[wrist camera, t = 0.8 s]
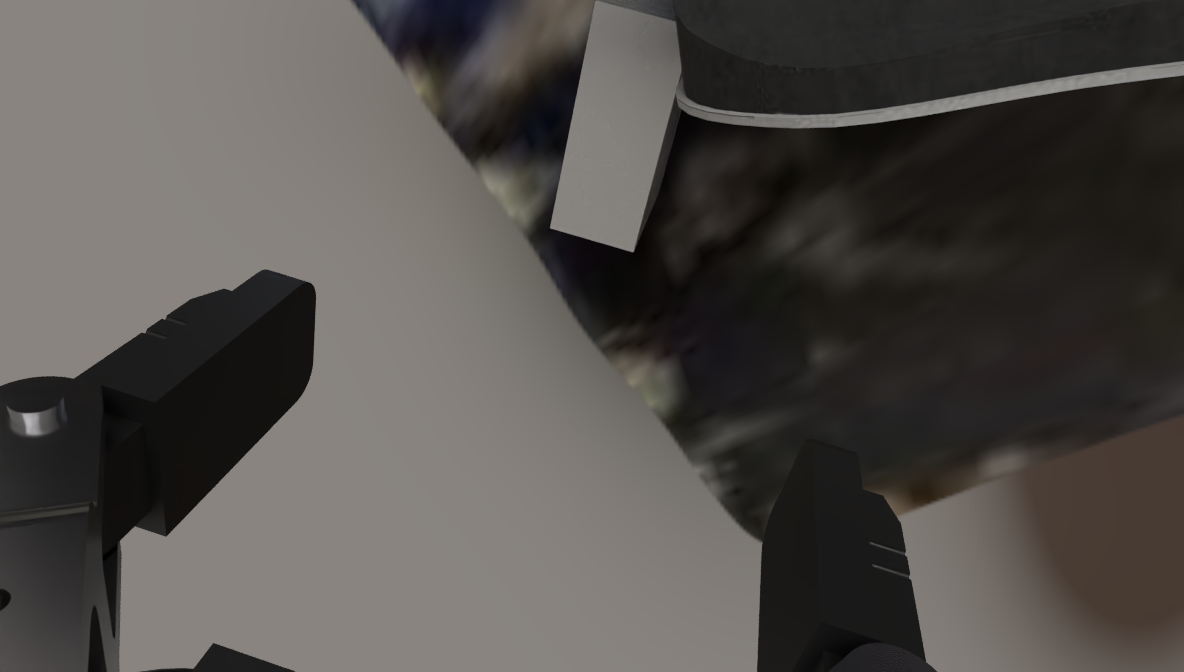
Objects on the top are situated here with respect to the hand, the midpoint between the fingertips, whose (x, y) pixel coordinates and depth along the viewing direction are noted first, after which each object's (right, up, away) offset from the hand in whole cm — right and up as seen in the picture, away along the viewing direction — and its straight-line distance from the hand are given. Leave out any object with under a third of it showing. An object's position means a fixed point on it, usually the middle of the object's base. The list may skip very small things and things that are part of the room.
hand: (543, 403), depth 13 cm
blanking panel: (+3, +10, +16) cm, 19 cm away
